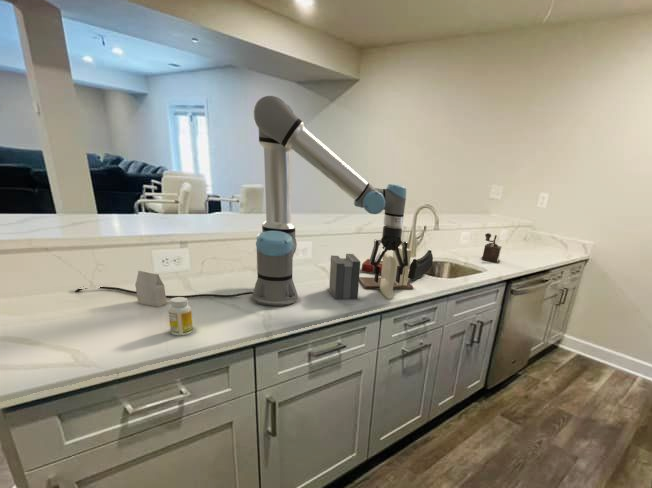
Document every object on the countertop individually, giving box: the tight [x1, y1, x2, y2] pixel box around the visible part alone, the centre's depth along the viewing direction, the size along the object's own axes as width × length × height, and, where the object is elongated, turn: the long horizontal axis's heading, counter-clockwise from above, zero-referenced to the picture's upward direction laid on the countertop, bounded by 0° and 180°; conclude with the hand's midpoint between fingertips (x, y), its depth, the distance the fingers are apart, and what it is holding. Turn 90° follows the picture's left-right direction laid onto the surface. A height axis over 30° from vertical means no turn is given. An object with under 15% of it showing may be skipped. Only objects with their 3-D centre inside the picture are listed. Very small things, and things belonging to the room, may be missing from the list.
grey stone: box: [134, 270, 167, 307], centre depth 119 cm, size 4×7×10 cm, turn 79°
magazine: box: [408, 249, 434, 280], centre depth 193 cm, size 17×3×30 cm
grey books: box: [328, 253, 361, 300], centre depth 151 cm, size 9×12×15 cm
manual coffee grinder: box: [481, 232, 502, 264], centre depth 250 cm, size 16×11×18 cm
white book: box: [379, 252, 396, 299], centre depth 158 cm, size 2×11×16 cm, turn 22°
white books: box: [392, 245, 412, 286], centre depth 172 cm, size 4×11×16 cm, turn 22°
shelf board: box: [359, 276, 414, 290], centre depth 173 cm, size 22×13×1 cm, turn 112°
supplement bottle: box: [167, 297, 194, 336], centre depth 105 cm, size 5×5×10 cm
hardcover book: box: [361, 258, 383, 275], centre depth 191 cm, size 12×21×4 cm, turn 84°
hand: (386, 281), depth 159 cm, fingers open, 9 cm apart
